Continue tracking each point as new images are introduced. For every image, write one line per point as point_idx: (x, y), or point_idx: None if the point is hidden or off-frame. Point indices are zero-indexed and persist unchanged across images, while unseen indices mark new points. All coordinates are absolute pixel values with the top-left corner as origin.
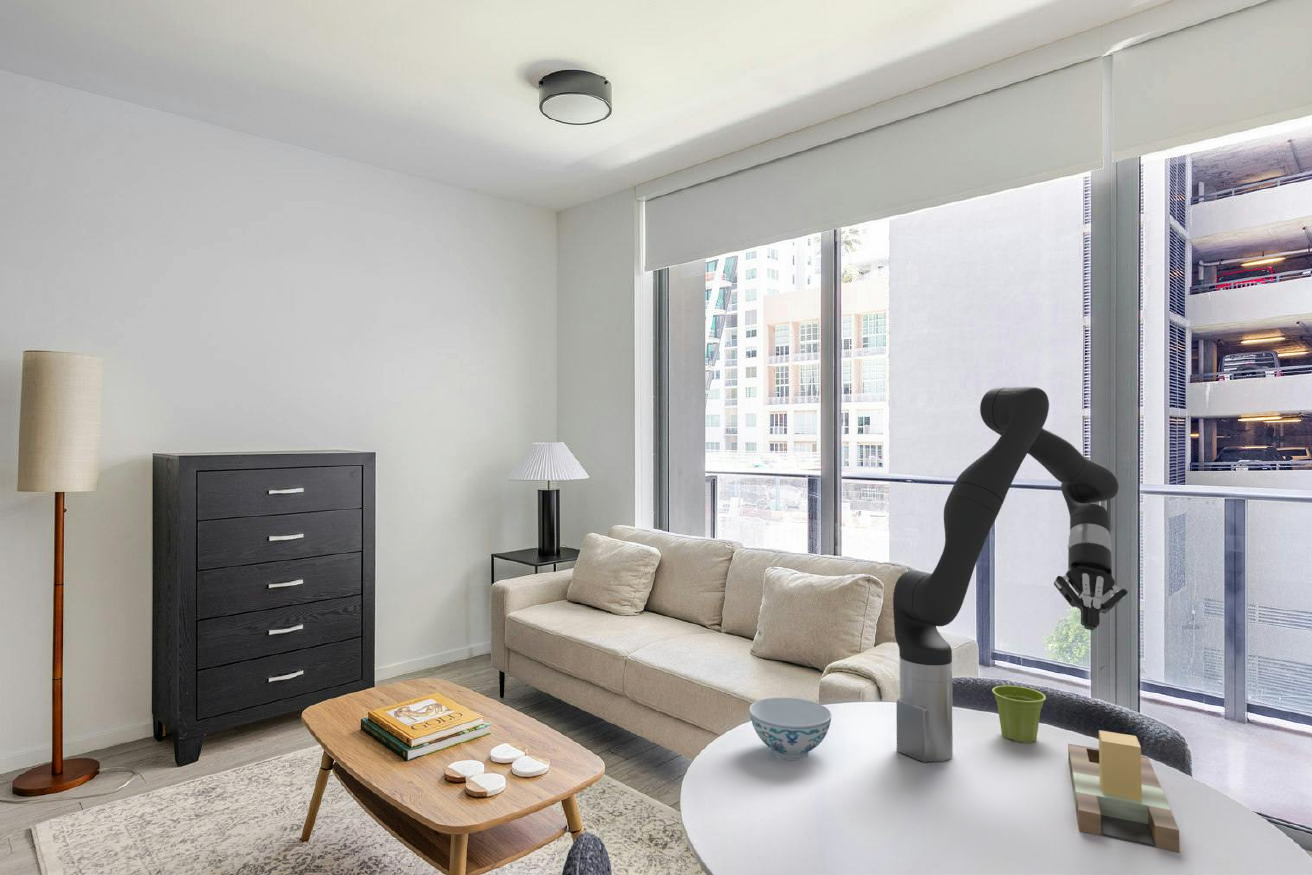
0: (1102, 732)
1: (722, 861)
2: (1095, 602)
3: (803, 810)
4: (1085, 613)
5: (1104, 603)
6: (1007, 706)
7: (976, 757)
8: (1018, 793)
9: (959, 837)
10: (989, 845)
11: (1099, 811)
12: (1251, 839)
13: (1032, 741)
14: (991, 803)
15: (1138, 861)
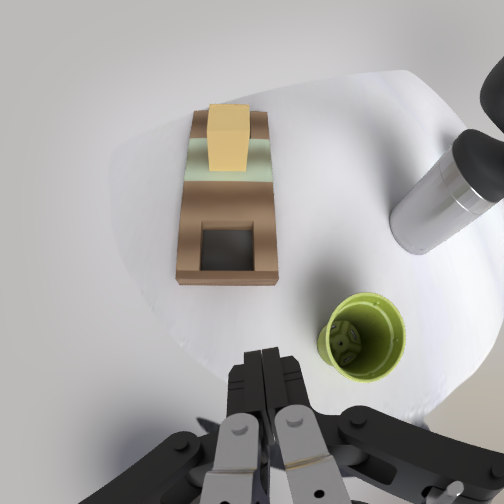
0: (246, 126)
1: (406, 71)
2: (246, 442)
3: (415, 108)
4: (292, 387)
5: (194, 451)
6: (373, 304)
7: (371, 238)
8: (317, 167)
9: (336, 98)
10: (318, 94)
11: (251, 115)
12: (129, 166)
13: (321, 330)
14: (332, 142)
15: (227, 103)
